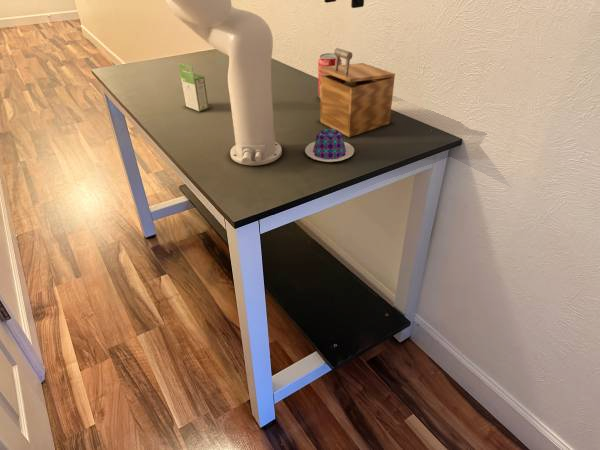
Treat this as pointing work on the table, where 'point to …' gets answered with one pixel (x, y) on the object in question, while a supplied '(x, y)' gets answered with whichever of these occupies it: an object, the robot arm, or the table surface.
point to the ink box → (194, 89)
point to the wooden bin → (355, 104)
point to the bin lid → (354, 69)
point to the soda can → (325, 61)
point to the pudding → (329, 146)
